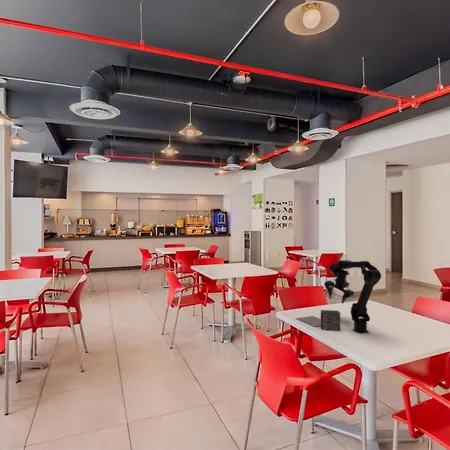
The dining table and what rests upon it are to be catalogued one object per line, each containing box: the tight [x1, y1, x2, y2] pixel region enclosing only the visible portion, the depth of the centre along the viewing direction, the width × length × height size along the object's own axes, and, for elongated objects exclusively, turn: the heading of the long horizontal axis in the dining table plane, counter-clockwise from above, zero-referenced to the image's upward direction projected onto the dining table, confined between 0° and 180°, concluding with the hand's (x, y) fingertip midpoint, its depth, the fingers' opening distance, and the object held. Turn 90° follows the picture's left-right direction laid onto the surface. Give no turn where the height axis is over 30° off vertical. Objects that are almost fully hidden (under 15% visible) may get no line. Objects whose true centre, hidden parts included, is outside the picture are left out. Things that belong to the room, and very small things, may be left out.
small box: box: [320, 309, 341, 331], centre depth 197 cm, size 11×6×10 cm, turn 84°
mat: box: [295, 315, 321, 328], centre depth 210 cm, size 18×14×1 cm
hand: (336, 300), depth 215 cm, fingers open, 9 cm apart
